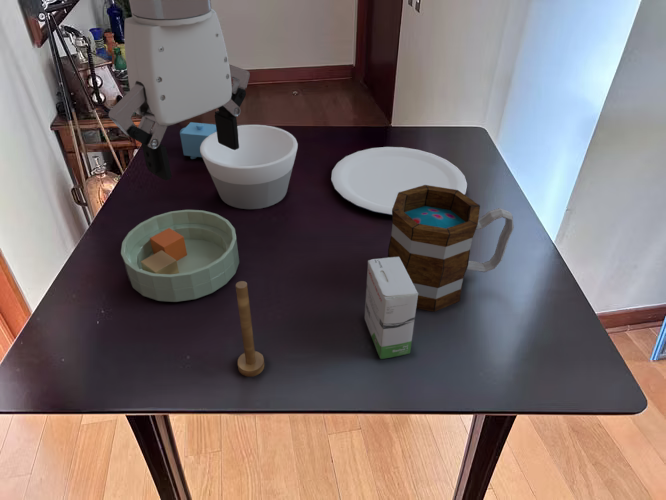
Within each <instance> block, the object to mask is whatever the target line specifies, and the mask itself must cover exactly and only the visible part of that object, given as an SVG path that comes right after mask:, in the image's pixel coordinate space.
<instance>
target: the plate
mask: <svg viewBox="0 0 666 500" xmlns="http://www.w3.org/2000/svg"><path fill="white" fill-rule="evenodd" d="M330 180H331V184H332V186H333V188H334V190H335V191H336V192H337V193H338V194H339V195H340V196H341V198H343V199H344V200H345V201H348V202H349V203H351V204H353V205H355V206H356V207H359V208H361V209H363V210H367V211H370V212H373V213H377V214H383V215H388V216H392V209H393V206H394V203H395V200H396V198H397V195H398V193H399V192H402V191H406V190H409V189H413V188H416V187H419V186H423V185H429V186H436V187H442V188H448V189H454V190H458V191H460V192H461V193H463V194H464V195H465V196H466V193H467V187H468V183H467V180H466V176H465V174H464V173H463V172H462V171H461V169H460V168H458V166H456V164H455V165H454V164H453V163H452V162H450V161H449V160H447V159H446V158H443V157H441V156H440V155H437V154H434V153H431V152H427V151H424V150H421V149H417V148H416V149H415V148H409V147H404V146H403V147H402V146H383V147H370V148H365V149H363V150H357V151H356V152H353V153H351V154H349V155H345V156H344V157H342V159H341V160H339V161H338V162H337V163H336V164H335V165H334V167H333V169H332V170H331V178H330Z"/></svg>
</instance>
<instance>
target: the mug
mask: <svg viewBox="0 0 666 500" xmlns="http://www.w3.org/2000/svg"><path fill="white" fill-rule="evenodd" d="M480 209H481V205H480V204H478V203H477V202H476V201H474V200H472V199H471V198H469V197H468V196H467V195H466V194H465V195H464V194H463V193H461V192H460V191H458V190H454V189H448V188H442V187H436V186H429V185H423V186H419V187H416V188H413V189H409V190H406V191H402V192H399V193H398V195H397V198H396V200H395V203H394V206H393V209H392V215H391V216H392V217H391V218H392V219H391V220H392V225H391V233H390V240H389V244H388V249H387V258H388V257H400V259H401V261H402V263H403V265H404V267H405V269H406V271H407V273H408V275H409V277H410V279H411V281H412V283H413V285H414V287H415V289H416V290H417V292H418V298H417V306H416V309H418V310H419V309H420V310H424V311H429V312H437V311H439V310H441V309H444V308H447V307H449V306H452V305H455V304H456V303H459V302H460V301H461V296H462V290H463V289H462V288H463V282H464V277H465V275H466V272H467V271H473V272H480V273H487V272H489V271H493V270H495V269H496V268H497V267H498V265H500V263H501V262H502V261H503V258H504V255H505V253H506V250H507V247H508V243H509V240H510V238H511V236H512V234H513V231H514V228H515V225H514V217H513V213H512V212H510V211H508V210H506V209H503V208H501V207H498V208H495V209H491V210H489V211H487V212H486V213H485V214H484V215H482V216H481V217H480ZM501 218H503V219H505V220H504V221H505V222H504V225H503V228H502V230H501V232H500V235H499V238H498V240H497V244H496V247H495V251H494V254H493V255H492V257H491V258H489V260H487V261H484V262H479V261H475V260H470V254H471V248H472V247H471V246H472V243H473V239H474V236H475V233H476V231H478V230H482V229H485V228H486V227H488V226H489V225H490V224H491V223H493V222H494V221H496V220H499V219H501Z"/></svg>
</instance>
